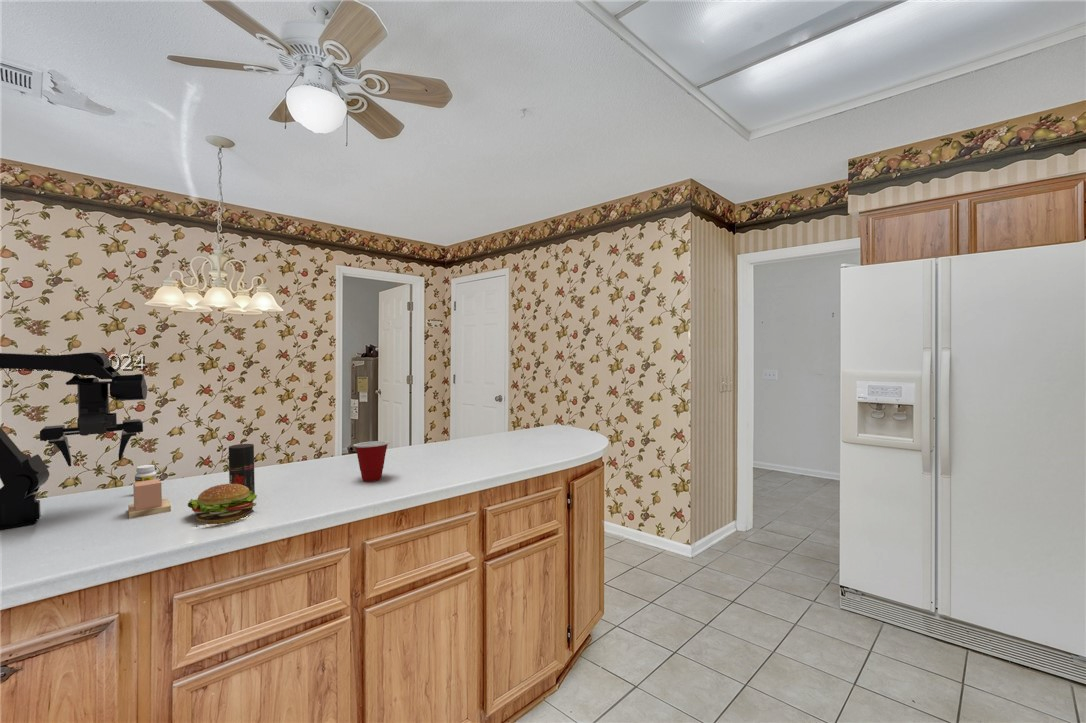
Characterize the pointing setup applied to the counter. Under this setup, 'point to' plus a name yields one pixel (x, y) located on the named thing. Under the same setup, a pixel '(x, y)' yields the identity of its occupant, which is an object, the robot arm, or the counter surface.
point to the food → (223, 503)
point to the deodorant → (242, 465)
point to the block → (147, 494)
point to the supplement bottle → (145, 473)
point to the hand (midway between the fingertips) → (95, 463)
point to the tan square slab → (149, 510)
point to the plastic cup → (371, 459)
